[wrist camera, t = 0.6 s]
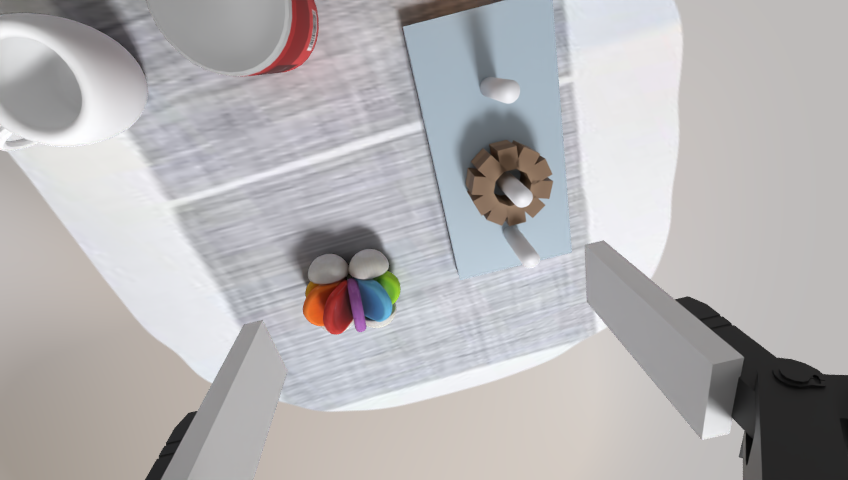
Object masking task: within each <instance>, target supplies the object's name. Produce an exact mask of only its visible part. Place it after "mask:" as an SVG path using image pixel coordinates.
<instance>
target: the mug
mask: <svg viewBox="0 0 848 480" xmlns="http://www.w3.org/2000/svg"><path fill="white" fill-rule="evenodd" d="M147 98H148V86H147V82H146V78H145V76H144V73H143V71H142V69H141V67H140V65H139V64H138V63H137V61H136V60H135V58H134V57H133V56H132V55H131V54H130V53H129V52H128V51H127V50H126V49H125V48H124V47H123V46H122V45H121V44H119V43H118V42H117V41H115V40H114V39H112V38H111V37H109V36H108V35H106V34H104V33H102V32H100V31H98V30H96V29H94V28H92V27H90V26H88V25H85V24H82V23H80V22H77V21H74V20H70V19H67V18H62V17H58V16H53V15H48V14H36V13H11V14H2V15H0V125H1V127H0V150H3V151H14V150H19V149H23V148H27V147H30V146H33V145H35V144H38V143H40V144H44V145H49V146H55V147H71V146H82V145H88V144H93V143H97V142H101V141H104V140H107V139H110V138H112V137H114V136H116V135H118V134H120V133H122V132H124V131H125V130H127V129H128V128H129V127H131V126H132V125H133V124H134V123H135V122H136V121H137V120H138V119H139V117H140V116H141V115H142V113H143V111H144V109H145V106H146V103H147ZM12 134H15V135H17V136H20V137H22V138H23V139H20V140H16V141H7V139H8V137H10V136H11V135H12Z"/></svg>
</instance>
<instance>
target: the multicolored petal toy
mask: <svg viewBox="0 0 848 480" xmlns="http://www.w3.org/2000/svg"><path fill="white" fill-rule="evenodd" d="M388 268H389V263H388V260H387V258H386V257H385V256H384V255H383V254H382V253H381V252H379V251H377V250H374V249H365V250H362V251H360V252H358V253H357V254H355V255H354V256H353V258H352V259H351V261H350V264H349V266H348V264H347V263H346V262H345V260H344V259H343V258H341V257H340V256H338V255H335V254H324V255H321V256H319V257H317V258H316V259H315V260H314V261H313V262H312V263H311V265H310V267H309V270H308V278H309V280H310V283H309V284H308V286H307V288H306V293H305V295H306V299H305V302H304V305H303V314H304V316H305V317H306V319H307V320H308V321H309V322H310V323H312V324H314V325H317V326H321V327H322V328H323V329H324V330H325V331H327V332H330V333H331V334H340V333H342V332H344V331H346V330H348V329H349V328H350V327H351V326H352V325H353V323H354V324H355V328H356V330H357V331H358V332H362V331H364V330H365V329H366V325H367V326H369V327H372V328H381V327H384V326H386V325H388V324H389V323H390V322H391V321H392V320H393V318H394V317H395V314H396V304H395V302H396V300H397V299H398V297H399V295H400V283H399V281H398V279H397V277H396V276H395V275H394V274H392V273H391V272H389V271H387V270H388ZM348 273H350V275H351V276H352V277H353V278H350V279H348V280H347V275H348Z"/></svg>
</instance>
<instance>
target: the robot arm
mask: <svg viewBox="0 0 848 480" xmlns="http://www.w3.org/2000/svg"><path fill="white" fill-rule="evenodd" d="M585 266H586V293H587V302H588V304H589V305H590V306H591V307H592V308H593V310H594V311H595V312H596V313H597V314H598V316H599V317H600V318H601V319H602V320H603V322H604V323H605V324H606V325H607V326H608V328H609V329H610V330H611V331H612V333H613V334H614V335H615V336H616V337H617V338H618V340H619V341H620V342H621V343H622V345H623V346H624V347H625V348H626V349H627V351H628V352H629V353H630V354H631V355H632V356H633V358H634V359H635V360H636V361H637V363H638V364H639V365H640V366H641V367H642V369H643V370H644V371H645V372H646V373H647V375H648V376H649V377H650V378H651V379H652V381H653V382H654V383H655V384H656V385H657V387H658V388H659V389H660V390H661V391H662V392H663V394H664V395H665V396H666V398H667V399H668V400H669V401H670V402H671V404H672V405H673V406H674V407H675V408H676V410H677V411H678V412H679V413H680V414H681V416H682V417H683V418H684V419H685V420H686V421H687V423H688V424H689V425H690V426H691V428H692V429H693V430H694V431H695V432H696V434H697V435H698V436H699V437H700V438H701V440H703V439H708V438H712V437H716V436H721V435H725V434H729V433H730V428H731V423H732V418H733V419H734V420H735V421H736V422H737V423H738V424H739V425H740V426H741V427H742V428H743V429H744V430H745V431H744V436H743V441H742V445H741V450H740V454H739V457H740V458H743V480H848V375H826V374H822V373H821V372H820V371H818V370H817V369H815V368H813V367H811V366H809V365H807V364H805V363H802V362H799V361H795V360H792V359H784V358H776V357H775V356H774V355H772V354H771V353H770V352H768V351H767V350H766V349H764V348H763V347H762V346H761V345H759V344H758V343H757V342H755V341H754V340H753V339H751V338H750V337H749V336H747V335H746V334H745V333H743V332H742V331H741V330H740V329H738V328H737V327H736V326H732V324H731V323H730V322H729V321H728V320H726V319H725V318H724V317H721V316H720V314H719V313H717V312H716V311H714V310H713V309H712V308H711V307H709V306H708V305H707V304H705V303H702V302H700V301H698V300H695V299H693V298H691V297H684V298H679V299H673V298H672V297H671V296H670V295H668V294H667V293H666V292H665V291H664V290H662V289H661V288H660V287H659V286H658V285H656V284H655V283H654V282H653V281H652V280H651V279H649V278H648V277H647V276H646V275H644V274H643V273H642V272H641V271H640V270H638V269H637V268H636V267H635V266H634V265H632V264H631V263H630V262H629V261H628V260H626V259H625V258H624V257H623V256H622V255H620V254H619V253H618V252H617V251H616V250H614V249H613V248H612V247H611V246H610V245H608V244H607V243H606V242H605V241H600V242H596V243H591V244H587V245H585ZM286 375H287V368H286V366H285V364H284V362H283V360H282V358H281V356H280V354H279V352H278V350H277V348H276V346H275V344H274V342H273V340H272V338H271V336H270V334H269V332H268V330H267V328H266V326H265V324H264V322H263V320H261V321H257V322H253V323H248V324H244V326H243V327H242V329H241V331H240V333H239V335H238V337H237V339H236V340H235V342H234V344H233V346H232V348H231V350H230V352H229V353H228V355H227V357H226V359H225V361H224V363H223V365H222V367H221V368H220V370H219V372H218V374H217V376H216V378H215V380H214V381H213V383H212V385H211V387H210V389H209V391H208V393H207V395H206V397H205V398H204V400H203V402H202V404H201V406H200V408H199V409H198V411H195V412H191V413H188V414H187V415H186V416H185V417H184V419H183V420H182V421H181V422H180V423H179V424H178V425H177V426H176V427H175V429H174V430H173V432H172V434H171V436H170V437H169V439H168V441H167V442H166V446H164V448H163V450H162V451H161V453H160V455H159V459H157V460H156V462H155V463H154V465H153V467H152V469H151V470H150V472H149V474H148V476H147V477H146V479H145V480H253V479H254V476H255V473H256V469H257V466H258V463H259V460H260V457H261V453H262V451H263V447H264V444H265V441H266V438H267V434H268V432H269V428H270V425H271V422H272V419H273V416H274V413H275V409H276V406H277V403H278V400H279V397H280V394H281V390H282V387H283V384H284V381H285V378H286Z"/></svg>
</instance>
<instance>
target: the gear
mask: <svg viewBox="0 0 848 480" xmlns="http://www.w3.org/2000/svg"><path fill="white" fill-rule="evenodd" d="M489 146H490V153H491V155H490V154H489V153H488V152H487V151H486V150H485V149H484V148H482V149H481V151H480V152H479V153H478V154H477V155H476V156H475V157H474V158H473V160H472V161H471V162H472V164H473V165H474V166H475V167H476V168H468V169H467V177H466V186H467V188H468V189H469V190H468V191H467V192H468V194H469V196H470V198H471V199H472V201H473V203H474V204H475V206H476V208H477V209H478V211H479V213H480V214H481V216H482V215H484V217H485V218H486V220H488V221H491V222H493V223H496V224H499V225H501V226H502V225H503V223H504V222H505V221H506V223H507V224H508V225H509V226H512V225H516V224H520V223H524V222H526V215H525V212H526V213H527V214H528V215H530V216H531V217H532V218H533V217H534V216H535V215H536V214H537V213H538V212H539V211H540V210H541V209H542V208H543V207H544V206H545V204H544V203H543V202H542V201H541V200H539V199H538V198H543V199H549V198H550V194H551V189H552V185H553V181H552V180H551V179H549V178H548V177H549V176H551V175H552V172H551V170H550V167H549V165H548V163H547V161H546V159H545V158H544V157H542V156H540V153H538V152H536V151H535V150H533V149H531V148H530V147H528V146H526V145H523V144H521V143H519V142H516V141H514V140H513V142H512V143H511V142H509V141H508V140H503V141H499V142H495V143H491V144H489ZM514 169H518V170H519V172H520V174H521V176H520V182H521V183H522V184H523V185H524V186H525V187H527V188H528V189H529V190H530V191H531V192H532V195H533V199H532V202H531V203H530V204H529V205H528V206H526V207H523V208H520V207H517V206H516V205H515V204H514V203H513V202H512V201H511V200H510V199H509V197H508V196H507V195H506V194H505V195H501V196H500V195H497V194H495V193H494V188H495V182H496V180H497V179H498V178H499V177H500V176H501V175H502V174H503V173H504V172H506V171H510V170H514Z"/></svg>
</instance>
